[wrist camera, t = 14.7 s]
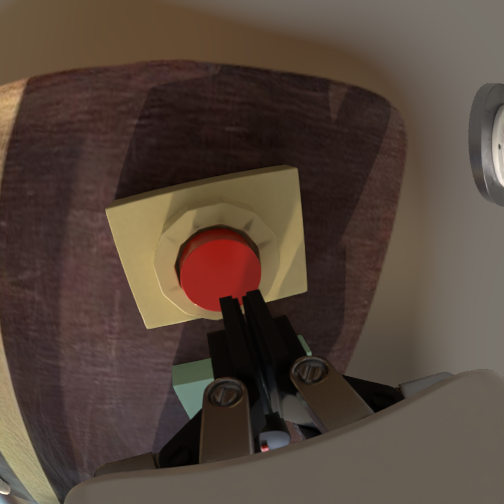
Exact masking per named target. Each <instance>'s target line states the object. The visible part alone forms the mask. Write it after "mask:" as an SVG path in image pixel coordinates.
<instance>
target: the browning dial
mask: <svg viewBox="0 0 504 504" xmlns="http://www.w3.org/2000/svg"><path fill="white" fill-rule="evenodd" d="M264 391H265V388H264ZM265 397H266V402H267V407H268V412H269V414H265V419H266V425H265V426H264V428H263V429H262V430H261V432H260V433H259V435H260V441H261V451H262V452H265V451H269V450H273V449H276V448H280V447H284V446H286V445H287V444H288V443H289V442H290V440H291V435H290V433H289V430H288V428H287V425H286V423H285V420H284V419H283V418H280V415H279V412H278V411H277V412H273V411H272V408H271V405H270V402H269V399H268V397H267V394H266V391H265Z"/></svg>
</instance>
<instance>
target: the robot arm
mask: <svg viewBox="0 0 504 504" xmlns="http://www.w3.org/2000/svg"><path fill="white" fill-rule="evenodd" d="M492 156H493V163H494V168H495V172H496V175H497V178H498V180H499V182H500V183H501V185H502V186H503V187H504V104H503V105H501V106H500V108H499V109H498V111H497V113H496V115H495V119H494V124H493V131H492ZM242 302H243V307H244V313H245V318H246V322H245V319H244V316H243V313H242V310H241V307H240V303H239V300H238V298H232V295H230V296H226V297H221V298H219V303H220V307H221V312H222V316H223V321H224V326H225V329H224V330H219V331H215V332H210V333H207V336H208V343H209V350H210V357H211V364H212V370H213V377H214V381H212V382H211V383H210V384H208V385H207V387H206V388H205V390H204V393H203V401H202V408H201V409H200V410H199V411H198V412H197V413H196V414H195V416H194V417H193V418H192V419H191V420H190V421H189V422H188V423H187V424H186V425H185V426H184V427H183V428H182V429H181V430H180V431H179V432H178V433H177V434H176V435H175V436H174V437H173V438H172V439H171V440H170V441H169V442H168V443H167V444H166V445H165V446H164V447H163V448H162V450H161V451H160V452H159V453H155V454H153V453H152V452H149V453H146V454H142V455H138V456H135V457H131V458H127V459H123V460H118V461H114V462H110V463H106V464H103V465H101V466H100V467H99V468H97V469H96V472H95V474H94V478H91V479H89V480H86V481H84V482H82V483H80V484H78V485H76V486H75V487H73V488H72V489H71V490H70V491H69V493H68V494H67V496H66V498H65V501H64V504H504V377H503V376H502V375H500V374H499V373H497V372H494V371H492V370H488V369H478V370H471V371H467V372H463V373H459V374H456V375H453V374H452V373H448V372H441V373H437V374H434V375H431V376H427V377H424V378H421V379H417V380H414V381H410V382H406V383H402V384H399V385H398V387H396V388H393V387H391V386H388V385H383V384H379V383H374V382H369V381H365V380H361V379H357V378H353V377H349V376H345V375H341V374H340V373H339V372H338V371H337V370H336V369H335V367H334V366H333V365H332V364H331V363H330V362H329V361H328V360H327V359H325V358H323V357H320V356H315V355H310V356H308V355H307V353H306V351H305V349H304V348H303V346H302V344H301V342H300V340H299V338H298V336H297V335H296V333H295V331H294V329H293V327H292V325H291V323H290V321H289V320H288V318H287V316H286V315H282V316H278V317H274V318H272V316H271V313H270V311H269V309H268V307H267V305H266V303H265V300H264V298H263V296H262V294H261V292H260V290H259V289H256V290H252V291H248V292H246V296H242ZM246 323H247V325H246ZM263 385H264V386H263ZM264 388H265V391H266V394H267V397H268V399H269V402H270V405H271V408H272V411H273V412H277V411H278V412H279V415H280V418H283V419H285V420H288V421H291V422H293V424H294V427H295V429H296V430H297V432H298V433H299V435H300V437H301V438H302V440H303V441H301V442H297V443H294V444H291V445H287V446H284V447H280V448H276V449H273V450H269V451H265V452H262V451H261V441H260V435H259V433H260V432H261V430H262V429H263V428H264V426H265V425H266V419H265V414H269V412H268V407H267V402H266V397H265V391H264Z"/></svg>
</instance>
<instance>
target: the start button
mask: <svg viewBox="0 0 504 504" xmlns="http://www.w3.org/2000/svg"><path fill="white" fill-rule="evenodd" d="M180 279H181V286H182V289H183V291H184V293H185V295H186V296H187V297H188V299H189V300H190V301H191V302H192V303H194V304H195V305H197V306H198V307H200V308H202V309H205V310H208V311H214V312H221V307H220V303H219V298H221V297H226V296H230V295H232V298H238V300H239V303H240V306H241V305H243V302H242V296H246V292H248V291H252V290H256V289H258V287H259V284H260V280H261V265H260V262H259V259H258V257H257V256H256V254H255V252H254V251H253V249H252V247H251V246H250V244H249V243H248V241H247V240H246V239H245V238H244V237H243V236H241V235H240V234H238V233H236V232H234V231H231V230H228V229H211V230H207V231H204V232H202V233H200V234H198V235H196V236H195V237H194V238H193V239H192V240H191V241H190V242H189V243H188V244H187V245H186V247H185V249H184V250H183V253H182V256H181V261H180Z"/></svg>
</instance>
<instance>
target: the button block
mask: <svg viewBox="0 0 504 504" xmlns="http://www.w3.org/2000/svg"><path fill="white" fill-rule="evenodd" d="M106 214H107V217H108V221H109V224H110V228H111V231H112V234H113V237H114V241H115V244H116V247H117V250H118V253H119V256H120V259H121V262H122V265H123V268H124V271H125V274H126V276H127V279H128V282H129V285H130V287H131V290H132V293H133V295H134V298H135V300H136V303H137V306H138V308H139V311H140V313H141V315H142V318H143V320H144V323H145V325H146V327H147V329H150V328H155V327H160V326H165V325H170V324H175V323H180V322H184V321H189V320H193V319H198V318H207V319H212V320H219V319H223V316H222V312H214V311H208V310H205V309H202V308H200V307H198V306H197V305H195V304H194V303H192V302H191V301H190V300H189V299H188V297H187V296H186V295H185V293H184V291H183V289H182V286H181V279H180V261H181V256H182V253H183V250H184V249H185V247H186V245H187V244H188V243H189V242H190V241H191V240H192V239H193V238H194V237H195V236H196V235H198V234H200V233H202V232H204V231H207V230H211V229H228V230H231V231H234V232H236V233H238V234H240V235H241V236H243V237H244V238H245V239H246V240H247V241H248V243H249V244H250V246H251V247H252V249H253V251H254V252H255V254H256V256H257V257H258V259H259V262H260V265H261V280H260V284H259V287H258V289H259V290H260V292H261V294H262V296H263V298H264V300H265V302H269V301H273V300H277V299H280V298H284V297H288V296H292V295H295V294H299V293H303V292H306V291H307V273H306V257H305V243H304V230H303V218H302V207H301V196H300V186H299V176H298V169H297V168H295V167H292V166H289V165H286V164H285V165H278V166H272V167H265V168H259V169H253V170H248V171H242V172H237V173H231V174H226V175H221V176H216V177H211V178H206V179H201V180H196V181H192V182H187V183H182V184H178V185H174V186H169V187H165V188H161V189H157V190H153V191H149V192H145V193H141V194H137V195H133V196H129V197H126V198H122V199H118V200H115V201H113V202H112V203H111V204H110V205H109V206H108V207H107V208H106ZM240 307H241V310H242V313H243V314H244V307H243V305H241V306H240Z"/></svg>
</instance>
